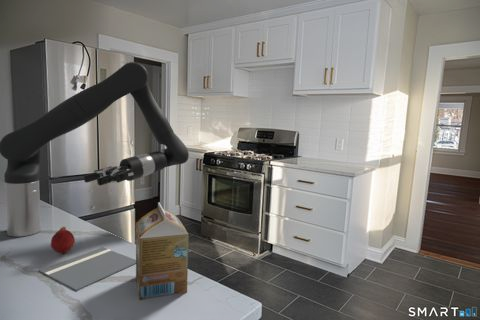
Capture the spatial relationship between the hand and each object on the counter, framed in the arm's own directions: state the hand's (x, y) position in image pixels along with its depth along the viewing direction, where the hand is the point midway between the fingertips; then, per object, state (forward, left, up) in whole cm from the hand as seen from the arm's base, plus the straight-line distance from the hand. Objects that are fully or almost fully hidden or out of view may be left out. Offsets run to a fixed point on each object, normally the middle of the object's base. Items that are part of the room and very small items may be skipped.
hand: (91, 180), depth 94 cm
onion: (0, -9, -20) cm, 22 cm away
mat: (+13, -9, -20) cm, 25 cm away
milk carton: (+34, -5, -20) cm, 40 cm away
